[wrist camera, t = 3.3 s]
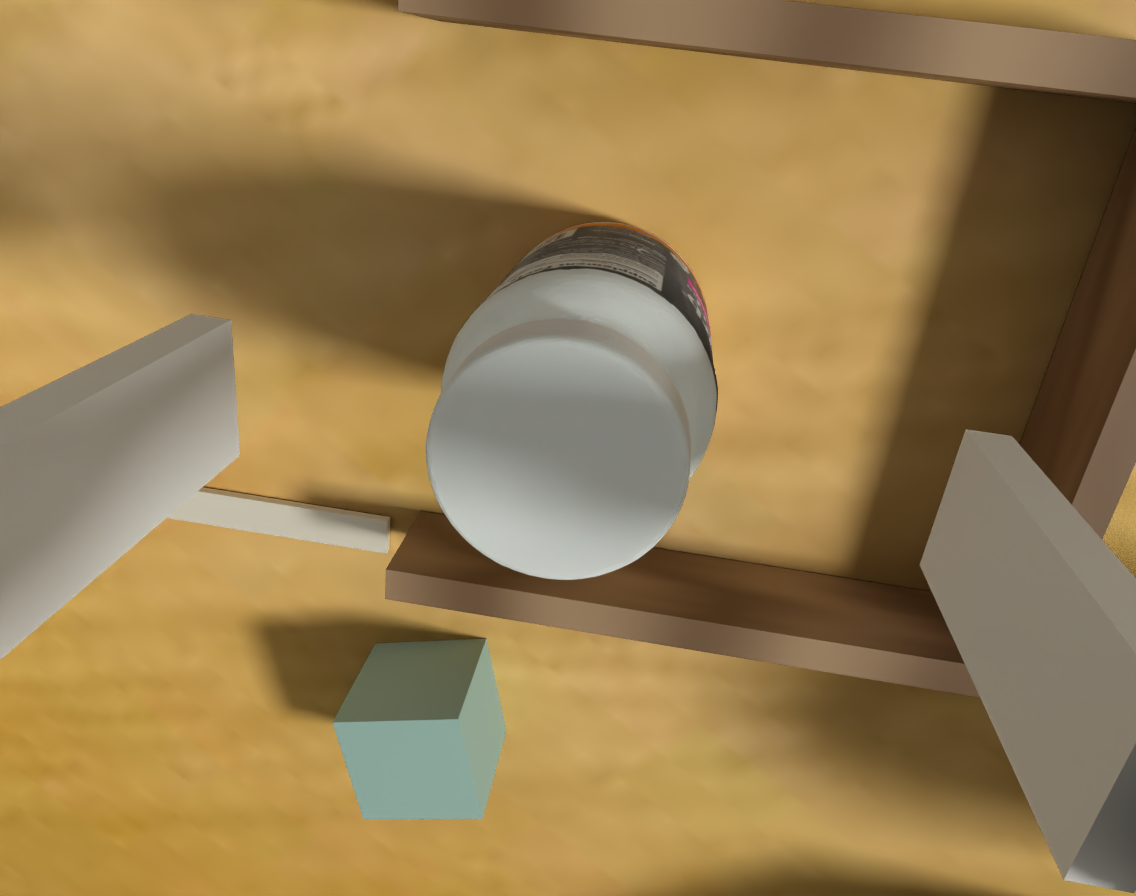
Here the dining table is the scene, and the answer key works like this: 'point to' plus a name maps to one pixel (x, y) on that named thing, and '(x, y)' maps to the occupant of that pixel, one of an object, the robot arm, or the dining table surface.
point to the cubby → (1052, 436)
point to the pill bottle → (576, 405)
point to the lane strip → (287, 519)
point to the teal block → (423, 730)
